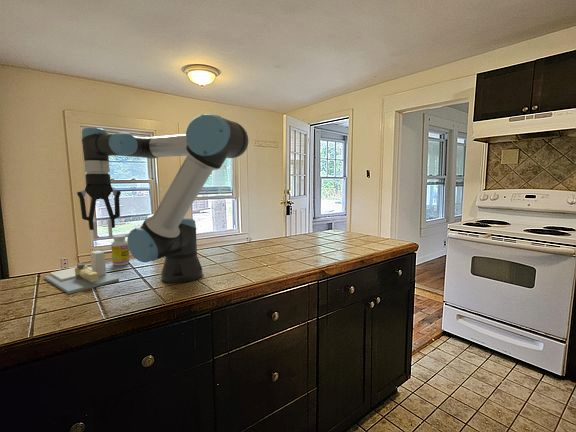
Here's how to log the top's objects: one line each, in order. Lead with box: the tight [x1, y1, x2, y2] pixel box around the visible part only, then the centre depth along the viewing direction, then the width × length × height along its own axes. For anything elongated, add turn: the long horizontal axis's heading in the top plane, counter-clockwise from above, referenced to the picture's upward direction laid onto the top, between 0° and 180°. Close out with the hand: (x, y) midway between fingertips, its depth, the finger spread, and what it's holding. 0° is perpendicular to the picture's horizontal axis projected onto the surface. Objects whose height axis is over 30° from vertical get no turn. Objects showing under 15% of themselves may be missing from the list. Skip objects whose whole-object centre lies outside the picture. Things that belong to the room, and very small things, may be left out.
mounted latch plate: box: [43, 250, 120, 295], centre depth 113 cm, size 26×16×10 cm, turn 53°
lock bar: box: [74, 265, 99, 282], centre depth 110 cm, size 14×4×3 cm, turn 53°
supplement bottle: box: [111, 234, 130, 267], centre depth 134 cm, size 7×7×13 cm
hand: (103, 237), depth 109 cm, fingers open, 4 cm apart
